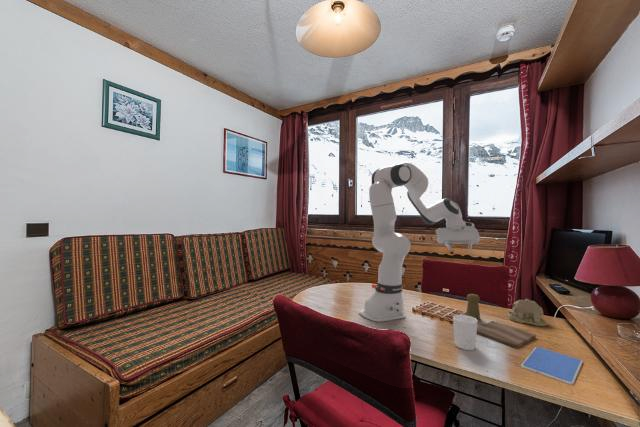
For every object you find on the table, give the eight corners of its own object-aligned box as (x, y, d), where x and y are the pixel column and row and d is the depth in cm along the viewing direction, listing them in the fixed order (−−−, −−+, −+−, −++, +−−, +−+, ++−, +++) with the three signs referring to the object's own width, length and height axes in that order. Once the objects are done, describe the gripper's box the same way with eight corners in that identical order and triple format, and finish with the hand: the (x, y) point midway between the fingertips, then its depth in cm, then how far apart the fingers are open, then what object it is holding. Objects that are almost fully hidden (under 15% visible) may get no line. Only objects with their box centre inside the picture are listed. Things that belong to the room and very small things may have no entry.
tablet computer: (572, 387, 79) (572, 383, 79) (519, 368, 89) (519, 364, 89) (583, 363, 92) (583, 359, 92) (535, 349, 101) (535, 345, 101)
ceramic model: (539, 318, 130) (539, 296, 129) (551, 327, 119) (551, 304, 119) (504, 314, 134) (504, 294, 133) (513, 323, 123) (513, 301, 123)
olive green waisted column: (479, 316, 131) (479, 293, 130) (481, 321, 125) (482, 297, 125) (464, 315, 133) (464, 292, 132) (466, 319, 127) (467, 295, 127)
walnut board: (516, 348, 100) (516, 345, 100) (472, 331, 114) (472, 329, 114) (535, 337, 109) (535, 334, 109) (492, 323, 123) (492, 320, 123)
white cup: (476, 353, 97) (476, 324, 97) (451, 347, 101) (452, 319, 101) (477, 344, 103) (478, 317, 103) (454, 338, 108) (454, 313, 108)
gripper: (435, 224, 151) (438, 245, 142) (477, 223, 146) (483, 245, 137) (434, 231, 156) (437, 252, 147) (475, 230, 150) (480, 252, 142)
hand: (460, 249), depth 142 cm, fingers open, 8 cm apart
